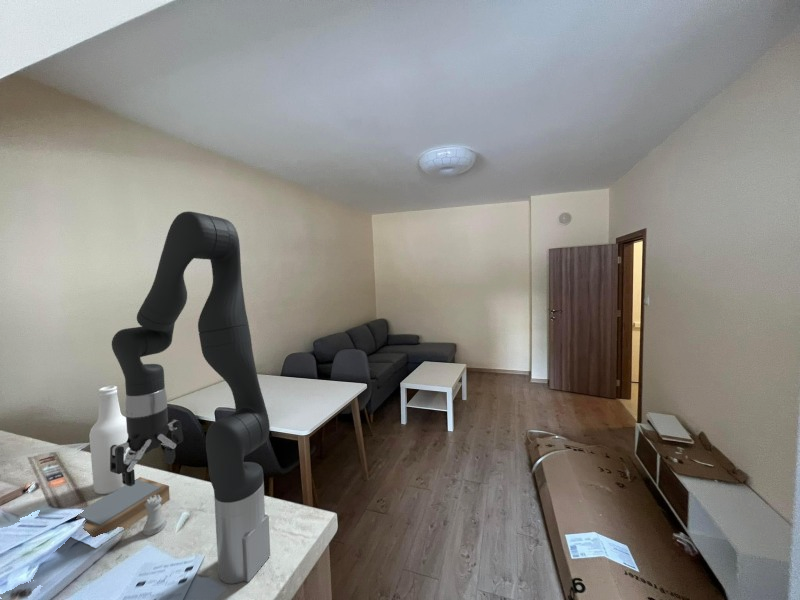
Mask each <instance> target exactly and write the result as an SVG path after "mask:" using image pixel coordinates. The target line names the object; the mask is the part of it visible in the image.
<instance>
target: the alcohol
mask: <svg viewBox="0 0 800 600" xmlns="http://www.w3.org/2000/svg"><path fill="white" fill-rule="evenodd" d="M97 392H98V394H97V395H98V418H97V421H96V422H95V423H94V424H93V425H92V427H91V428H90V431H89V435H88V436H89V437H88V438H89V447H90V460H91V462H90V463H91V471H92V482H93V483H92V484H93V491H94V492H95V493H96V494H98V495H109V494H111V493H112V492H114V491H116V490H118V489H120V488H121V487H123V486H125V484H123V482H122V473H121V474H116V473H113V472H111V471H110V448H111V446H113V445H120V444H123V443H125V442H127V440H128V433H127V424H126V416H124V415H123V414H122V413H121V407H120V403H119V396H118V386H116V385H108V386H103V387H100V388H99V389H98V390H97ZM129 449H130V448H129V447H128V448H127V449H126V453H125V454H124V460H125V456H126V454H127V453H128V451H129ZM133 469H134V470H135V467H134V468H133ZM134 475H136V474H135V472H134Z"/></svg>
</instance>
